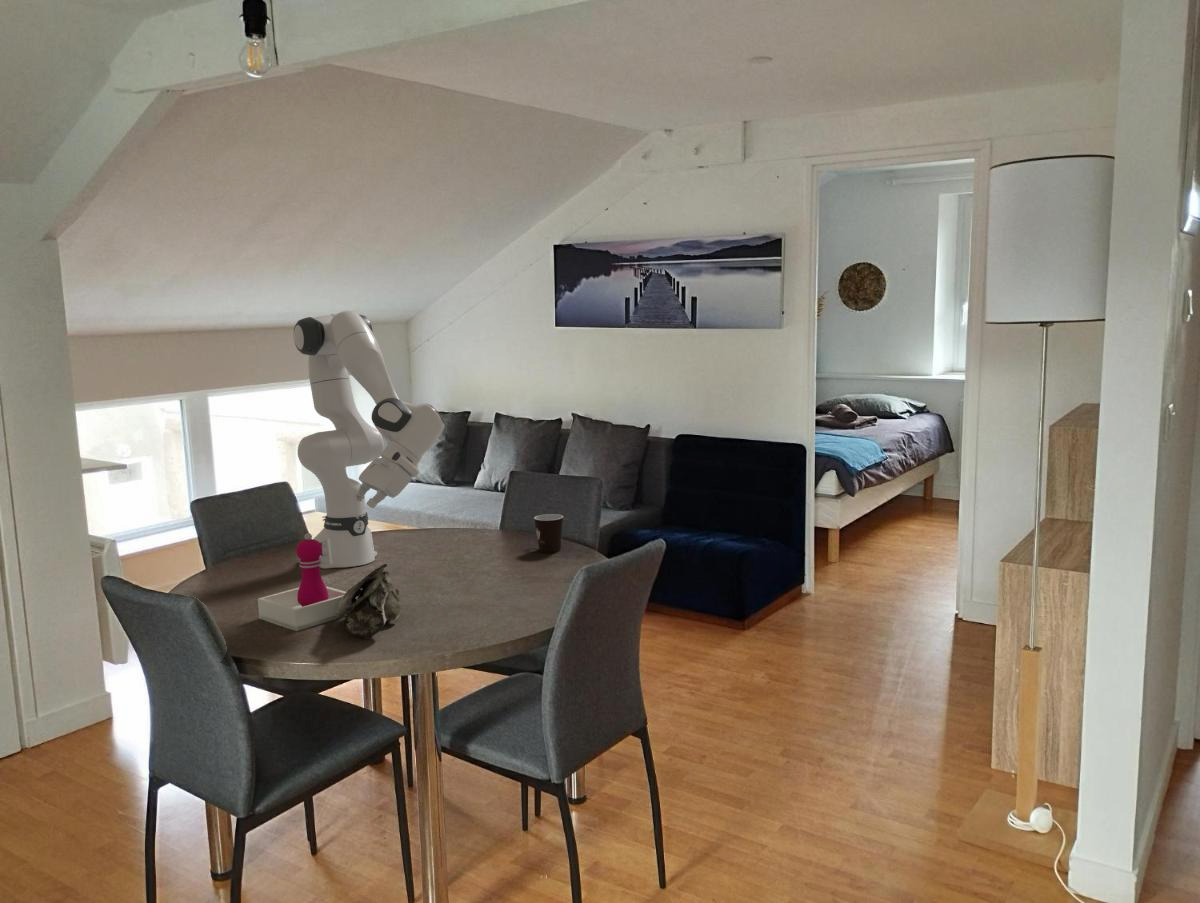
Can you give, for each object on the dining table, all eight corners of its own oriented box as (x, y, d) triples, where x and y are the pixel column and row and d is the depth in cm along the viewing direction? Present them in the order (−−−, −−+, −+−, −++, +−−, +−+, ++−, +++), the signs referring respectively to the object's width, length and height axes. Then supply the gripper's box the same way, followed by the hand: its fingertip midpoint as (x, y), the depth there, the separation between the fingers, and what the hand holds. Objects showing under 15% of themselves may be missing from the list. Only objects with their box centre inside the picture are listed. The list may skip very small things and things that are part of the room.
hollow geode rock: (363, 667, 220) (407, 618, 218) (318, 630, 218) (362, 581, 216) (387, 622, 247) (426, 578, 246) (347, 589, 246) (387, 545, 244)
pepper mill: (321, 619, 236) (315, 537, 233) (293, 618, 237) (286, 536, 234) (335, 610, 243) (328, 529, 240) (307, 609, 244) (300, 529, 241)
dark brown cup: (563, 553, 294) (562, 520, 292) (534, 554, 294) (533, 520, 293) (565, 543, 306) (564, 511, 304) (537, 544, 306) (536, 512, 304)
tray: (259, 618, 242) (257, 598, 241) (316, 602, 253) (315, 583, 253) (296, 631, 231) (294, 610, 230) (354, 613, 243) (352, 593, 242)
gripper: (374, 447, 260) (340, 488, 257) (404, 457, 243) (367, 502, 240) (392, 462, 264) (358, 503, 260) (422, 473, 246) (386, 517, 243)
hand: (363, 503), depth 250 cm, fingers open, 8 cm apart
